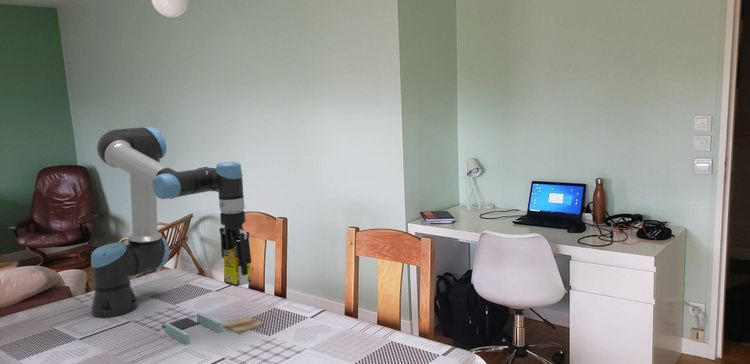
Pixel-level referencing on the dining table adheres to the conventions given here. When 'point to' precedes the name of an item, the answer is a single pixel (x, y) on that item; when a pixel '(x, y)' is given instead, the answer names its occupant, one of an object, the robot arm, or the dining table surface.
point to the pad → (242, 324)
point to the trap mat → (183, 323)
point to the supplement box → (233, 267)
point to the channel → (184, 336)
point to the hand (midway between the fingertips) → (238, 282)
